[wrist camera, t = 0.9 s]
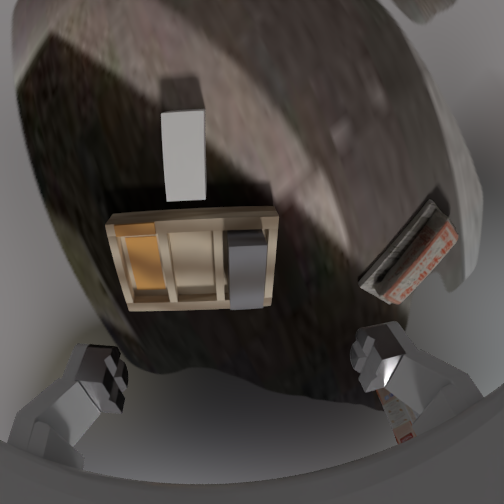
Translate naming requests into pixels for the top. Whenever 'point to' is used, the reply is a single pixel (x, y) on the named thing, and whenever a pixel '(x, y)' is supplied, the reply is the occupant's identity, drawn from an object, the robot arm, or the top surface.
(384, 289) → the packaged product
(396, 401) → the cracker box
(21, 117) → the top surface
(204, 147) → the white rectangular block
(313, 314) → the top surface
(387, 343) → the robot arm
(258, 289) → the rack
